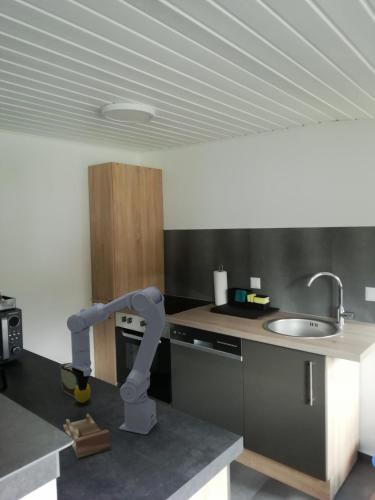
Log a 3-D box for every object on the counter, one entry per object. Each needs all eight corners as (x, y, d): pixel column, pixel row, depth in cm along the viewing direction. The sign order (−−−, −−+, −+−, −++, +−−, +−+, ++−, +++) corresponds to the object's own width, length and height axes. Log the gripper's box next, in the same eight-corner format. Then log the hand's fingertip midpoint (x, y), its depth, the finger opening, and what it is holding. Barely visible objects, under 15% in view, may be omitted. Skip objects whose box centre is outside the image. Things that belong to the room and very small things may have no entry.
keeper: (78, 440, 110) (78, 427, 110) (95, 435, 113) (95, 422, 112) (83, 449, 106) (82, 435, 105) (100, 443, 108) (100, 430, 108)
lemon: (84, 398, 139) (83, 376, 138) (94, 402, 135) (93, 380, 135) (71, 403, 134) (70, 382, 134) (81, 408, 131) (80, 386, 130)
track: (63, 427, 119) (62, 412, 119) (91, 419, 124) (91, 404, 123) (77, 458, 103) (77, 441, 103) (109, 448, 108) (109, 431, 107)
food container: (92, 393, 142) (91, 367, 141) (77, 399, 138) (76, 372, 137) (75, 384, 151) (73, 359, 150) (60, 389, 146) (59, 364, 145)
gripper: (63, 345, 128) (65, 384, 129) (73, 358, 115) (75, 401, 116) (84, 341, 131) (86, 379, 132) (96, 354, 119) (98, 395, 120)
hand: (82, 389), depth 124 cm, fingers closed
